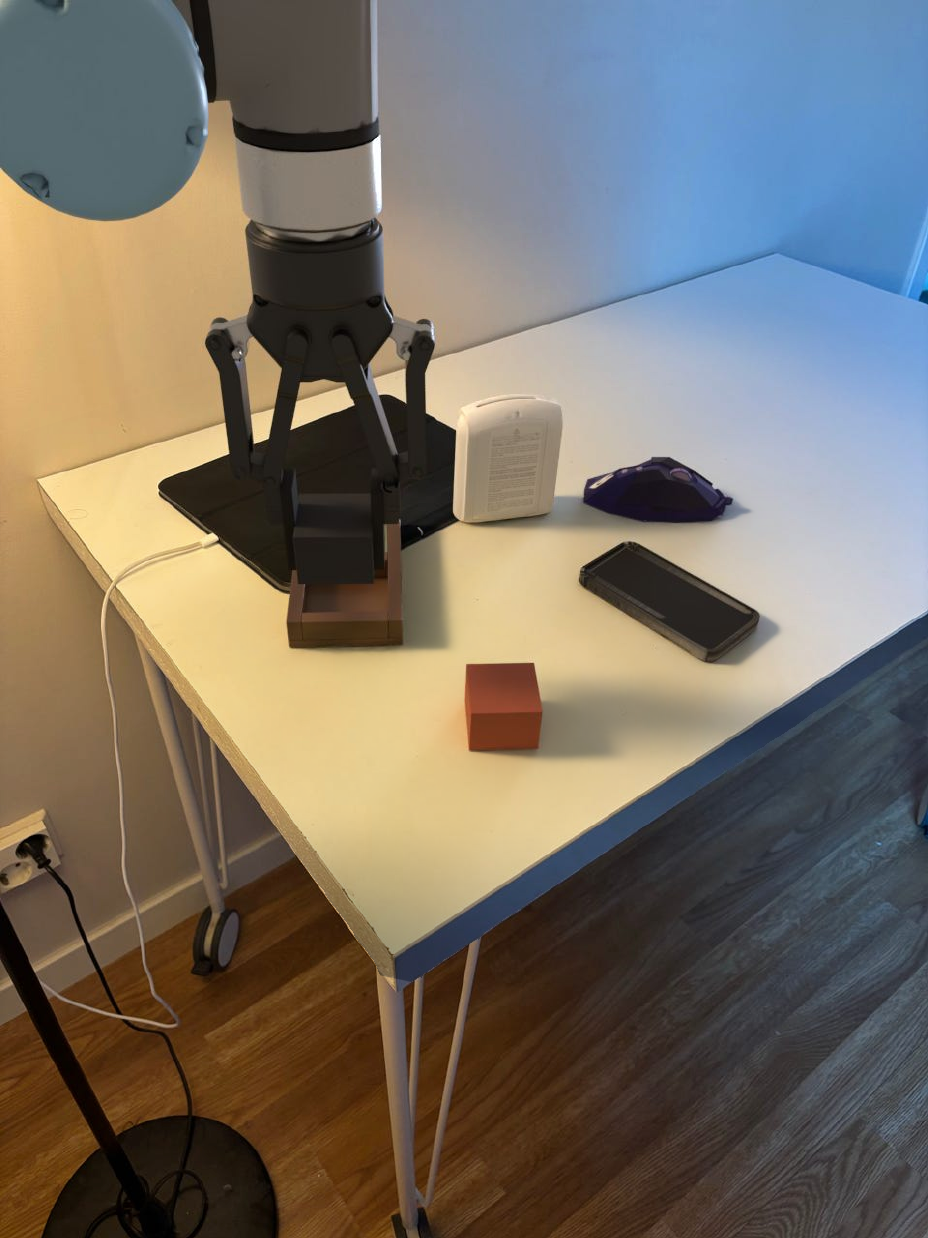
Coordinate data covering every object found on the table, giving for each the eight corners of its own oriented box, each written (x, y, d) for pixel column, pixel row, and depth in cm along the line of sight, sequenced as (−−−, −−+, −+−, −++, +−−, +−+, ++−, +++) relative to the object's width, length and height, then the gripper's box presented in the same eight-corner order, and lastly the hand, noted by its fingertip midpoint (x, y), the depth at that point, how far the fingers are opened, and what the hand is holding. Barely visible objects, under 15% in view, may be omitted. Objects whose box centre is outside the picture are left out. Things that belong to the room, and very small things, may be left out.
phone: (629, 538, 90) (765, 614, 82) (627, 547, 91) (762, 624, 83) (573, 571, 86) (711, 656, 78) (572, 581, 86) (708, 666, 78)
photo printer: (544, 492, 98) (556, 381, 90) (559, 515, 95) (572, 402, 87) (447, 504, 96) (450, 392, 87) (459, 529, 92) (462, 414, 84)
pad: (468, 751, 71) (470, 713, 68) (464, 700, 75) (466, 663, 72) (538, 749, 71) (542, 711, 69) (530, 699, 75) (534, 662, 72)
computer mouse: (589, 464, 102) (593, 431, 100) (729, 483, 100) (738, 450, 98) (579, 512, 95) (584, 478, 93) (730, 533, 93) (739, 499, 91)
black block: (297, 584, 65) (292, 537, 63) (303, 539, 69) (299, 493, 67) (374, 584, 66) (371, 536, 63) (375, 539, 69) (373, 493, 67)
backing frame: (289, 647, 79) (286, 622, 77) (302, 525, 92) (300, 500, 90) (403, 645, 79) (402, 620, 78) (400, 524, 93) (399, 499, 91)
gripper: (475, 198, 55) (463, 527, 71) (158, 193, 54) (215, 528, 70) (483, 244, 50) (469, 590, 65) (129, 239, 49) (198, 592, 64)
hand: (337, 557), depth 67 cm, fingers closed on black block, 5 cm apart
